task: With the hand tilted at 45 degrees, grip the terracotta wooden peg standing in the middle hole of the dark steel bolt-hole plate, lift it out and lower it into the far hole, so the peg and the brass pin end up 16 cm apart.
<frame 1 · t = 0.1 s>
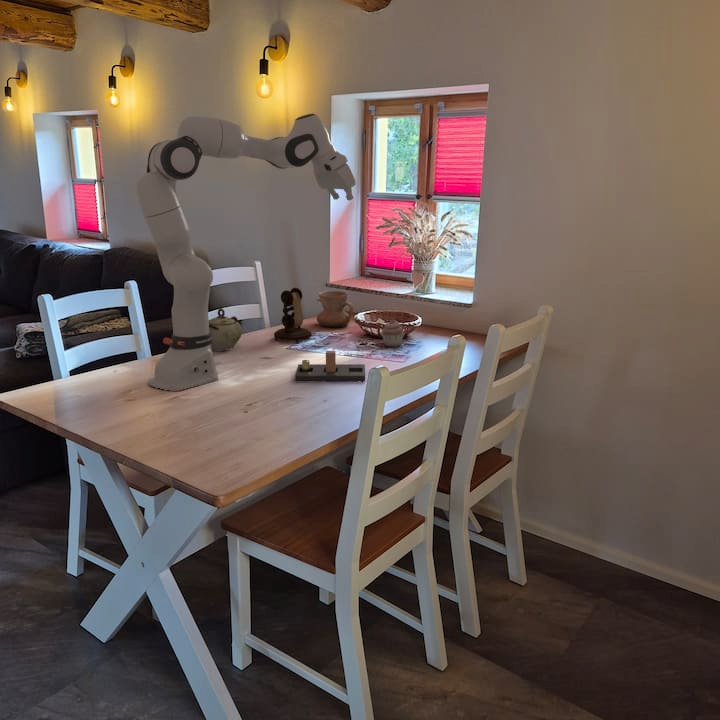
hand: (343, 199, 212), 54 cm above the table, tool tilted 30°, fingers open, 8 cm apart
terracotta peg: (330, 375, 200), resting in bolt-hole plate
olive green rounded pot: (222, 348, 232), on the table
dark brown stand: (293, 339, 245), on the table
ceramic jug: (334, 326, 267), on the table
cupcake: (392, 345, 237), on the table
bolt-hole plate: (330, 375, 200), on the table
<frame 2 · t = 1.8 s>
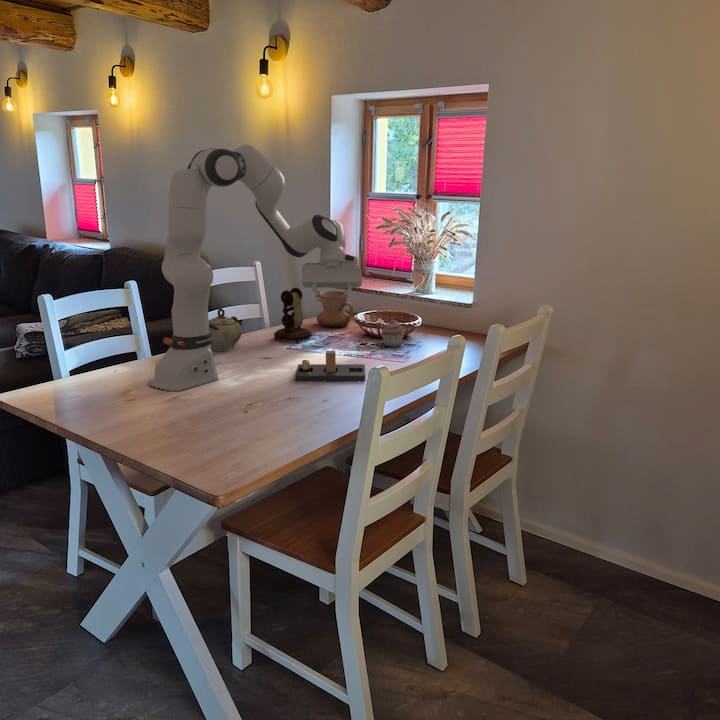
hand: (331, 296, 205), 24 cm above the table, tool tilted 45°, fingers open, 8 cm apart
nothing on the table moved.
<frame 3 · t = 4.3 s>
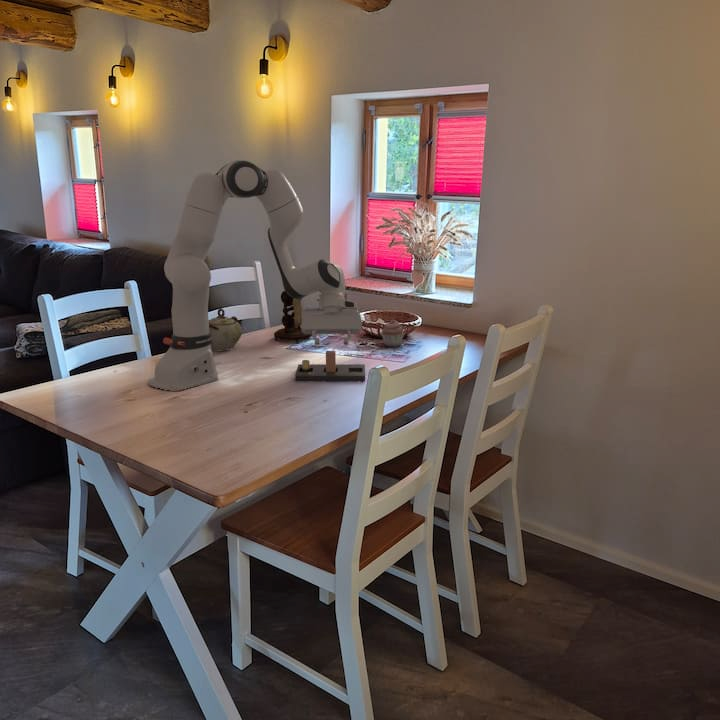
hand: (331, 344, 203), 9 cm above the table, tool tilted 45°, fingers open, 8 cm apart
nothing on the table moved.
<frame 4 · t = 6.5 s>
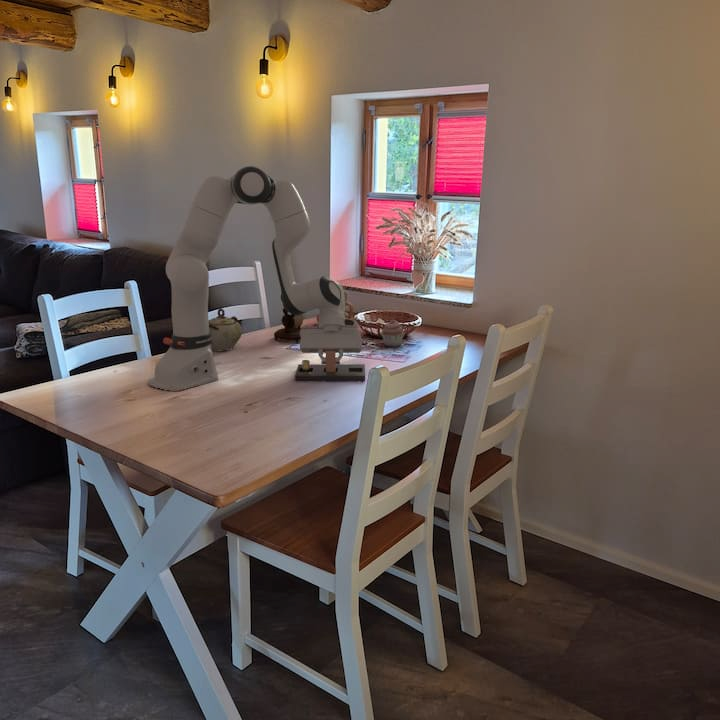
hand: (330, 363, 198), 4 cm above the table, tool tilted 45°, fingers closed on terracotta peg, 3 cm apart
terracotta peg: (330, 375, 200), resting in bolt-hole plate, touching gripper
everything else where it was.
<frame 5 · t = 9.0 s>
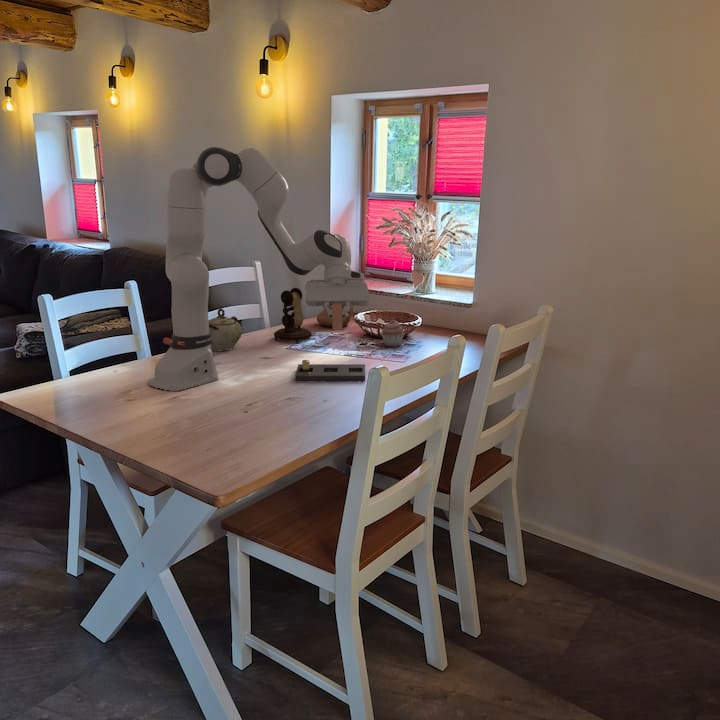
hand: (337, 316, 194), 20 cm above the table, tool tilted 45°, fingers closed on terracotta peg, 3 cm apart
terracotta peg: (337, 329, 196), point 15 cm above the table, touching gripper
everything else where it was.
when the fingers open (6 cm above the table, at t = 11.8 s): terracotta peg drops 2 cm, resting in bolt-hole plate.
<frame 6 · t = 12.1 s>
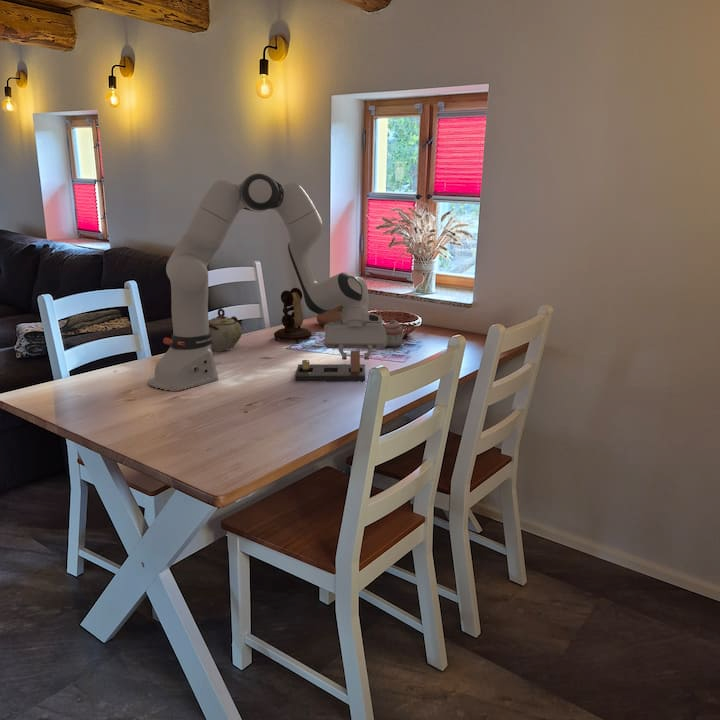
hand: (355, 358, 198), 6 cm above the table, tool tilted 45°, fingers open, 6 cm apart
terracotta peg: (355, 375, 200), resting in bolt-hole plate
everything else where it was.
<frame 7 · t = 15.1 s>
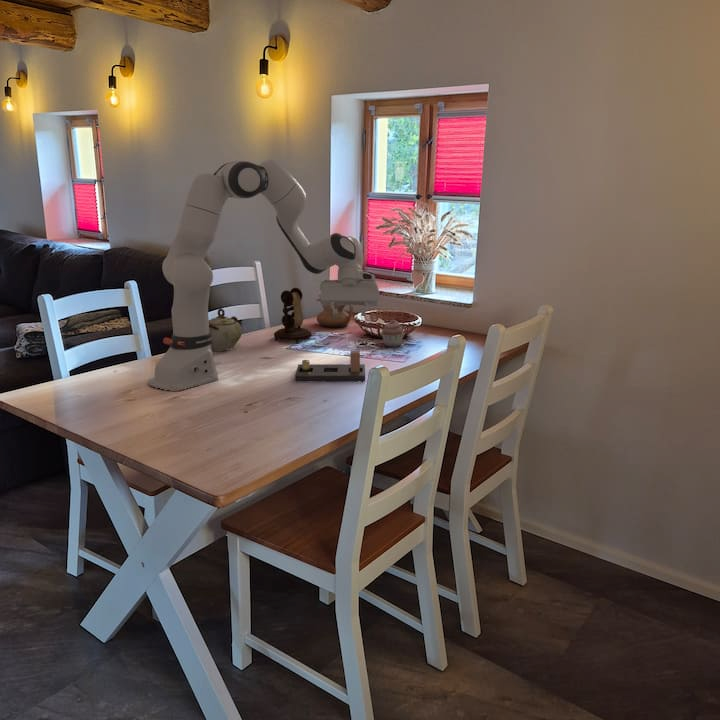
hand: (349, 315, 209), 17 cm above the table, tool tilted 40°, fingers open, 8 cm apart
nothing on the table moved.
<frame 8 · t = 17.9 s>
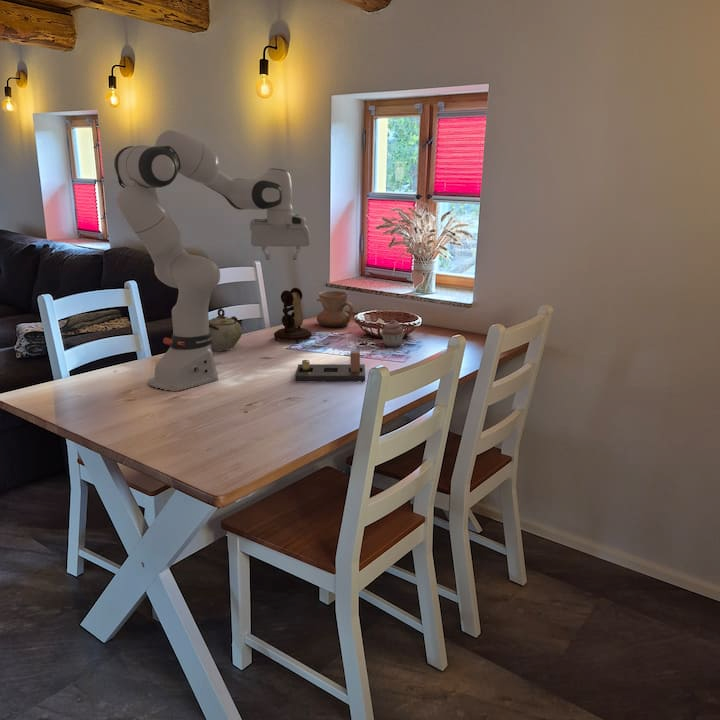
hand: (281, 259, 215), 34 cm above the table, tool pointing down, fingers open, 8 cm apart
nothing on the table moved.
at the end: terracotta peg 0.1 cm from the target spot on the bolt-hole plate, point 0.0 cm above the bolt-hole plate's base; terracotta peg tilted 0°; the gripper is holding nothing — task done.
